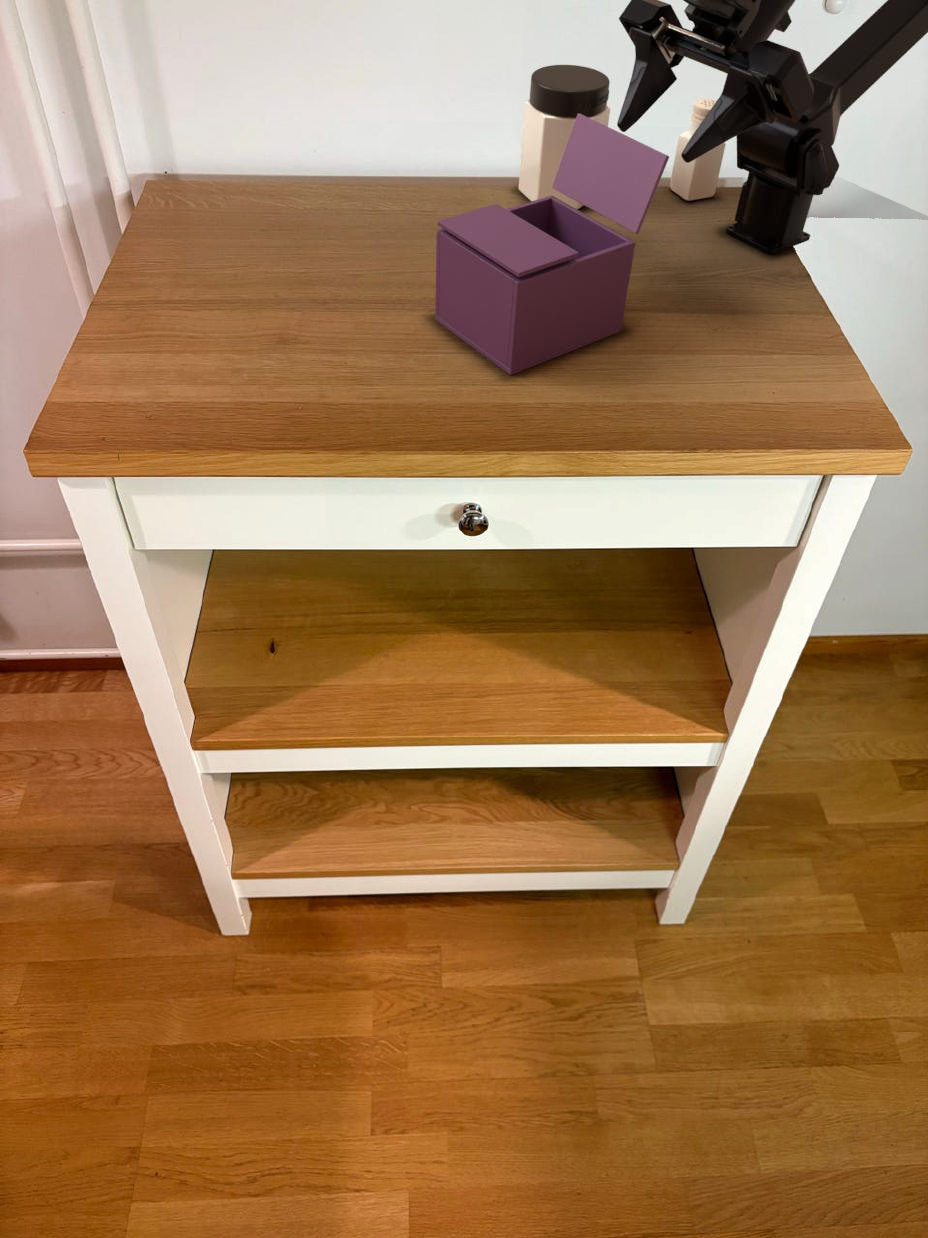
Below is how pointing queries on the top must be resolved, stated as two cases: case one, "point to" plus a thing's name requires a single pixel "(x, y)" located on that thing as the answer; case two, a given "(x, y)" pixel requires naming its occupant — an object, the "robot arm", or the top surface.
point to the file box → (530, 281)
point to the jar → (557, 123)
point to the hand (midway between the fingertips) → (651, 143)
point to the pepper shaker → (696, 161)
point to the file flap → (609, 172)
